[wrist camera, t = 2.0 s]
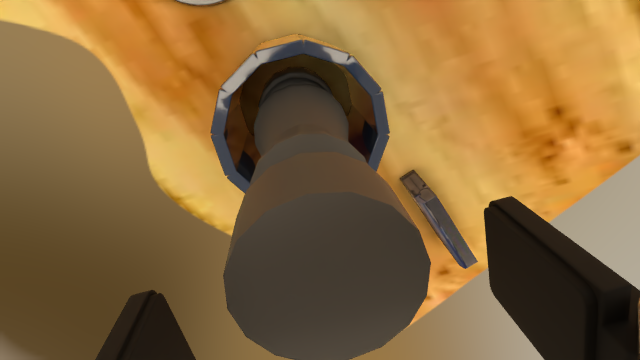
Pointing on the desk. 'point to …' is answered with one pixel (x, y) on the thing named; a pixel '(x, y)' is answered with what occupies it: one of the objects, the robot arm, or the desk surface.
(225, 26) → the desk surface
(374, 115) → the crock
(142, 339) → the robot arm
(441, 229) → the mini dv tape
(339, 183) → the candle holder
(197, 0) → the coaster
